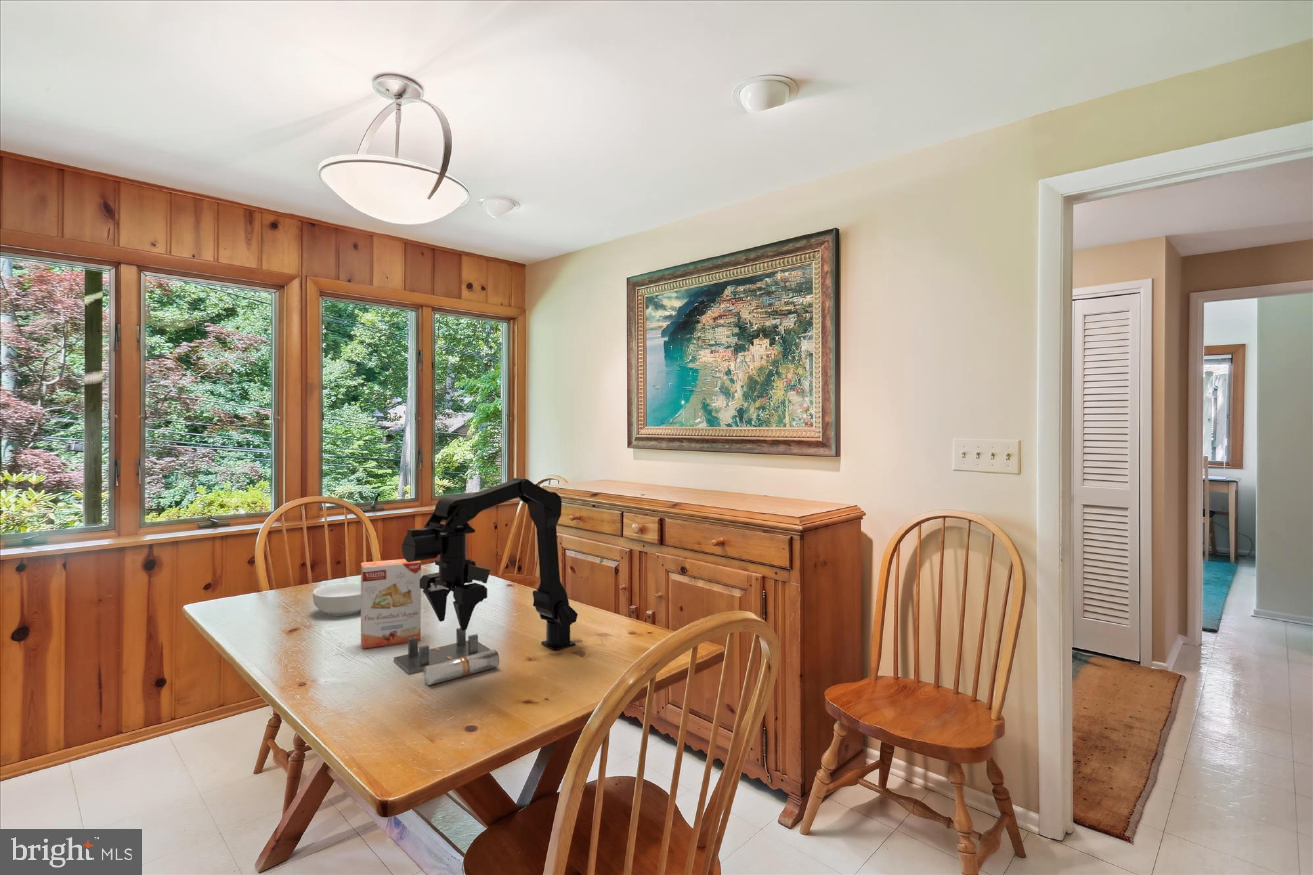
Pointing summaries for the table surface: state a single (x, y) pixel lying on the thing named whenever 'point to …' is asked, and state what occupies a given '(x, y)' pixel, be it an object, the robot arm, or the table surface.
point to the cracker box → (390, 602)
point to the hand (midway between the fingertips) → (452, 625)
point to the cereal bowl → (338, 598)
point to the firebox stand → (438, 652)
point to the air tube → (460, 667)
